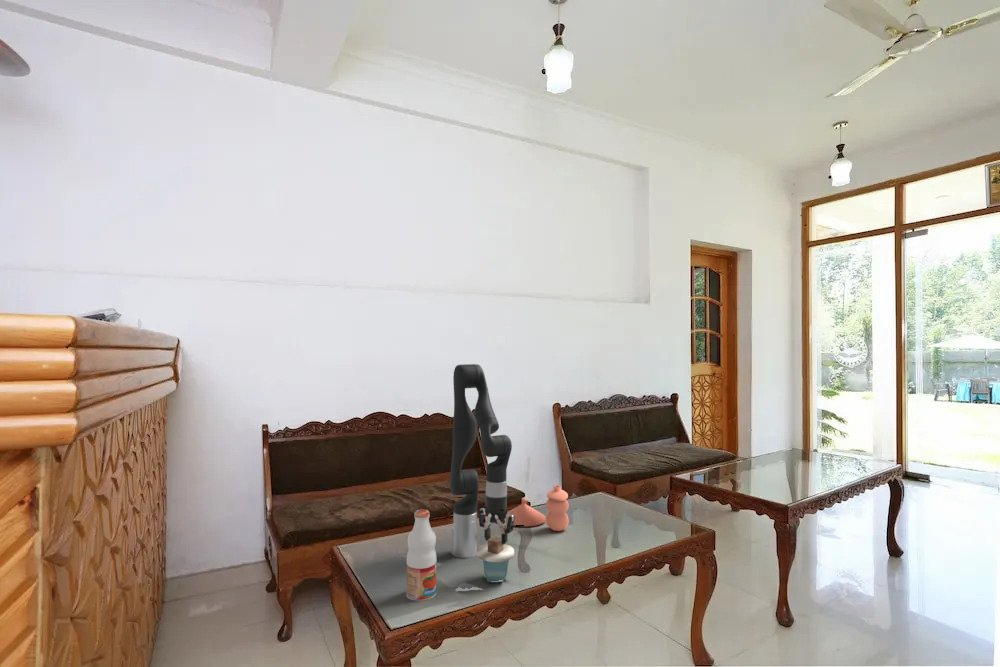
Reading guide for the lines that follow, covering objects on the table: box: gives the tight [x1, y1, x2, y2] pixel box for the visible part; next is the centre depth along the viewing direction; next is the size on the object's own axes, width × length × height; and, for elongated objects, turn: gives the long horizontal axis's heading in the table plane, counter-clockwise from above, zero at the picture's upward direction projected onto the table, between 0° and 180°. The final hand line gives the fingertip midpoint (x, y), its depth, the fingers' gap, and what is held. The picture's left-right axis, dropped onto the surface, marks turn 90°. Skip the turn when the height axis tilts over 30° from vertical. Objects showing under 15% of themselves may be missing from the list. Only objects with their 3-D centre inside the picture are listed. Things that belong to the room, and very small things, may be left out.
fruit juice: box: [405, 509, 437, 601], centre depth 157 cm, size 9×9×28 cm
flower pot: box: [482, 559, 510, 583], centre depth 170 cm, size 9×9×9 cm
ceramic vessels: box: [505, 484, 570, 532], centre depth 225 cm, size 35×21×19 cm, turn 46°
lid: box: [476, 535, 515, 562], centre depth 171 cm, size 13×13×5 cm
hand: (495, 541), depth 171 cm, fingers open, 6 cm apart
